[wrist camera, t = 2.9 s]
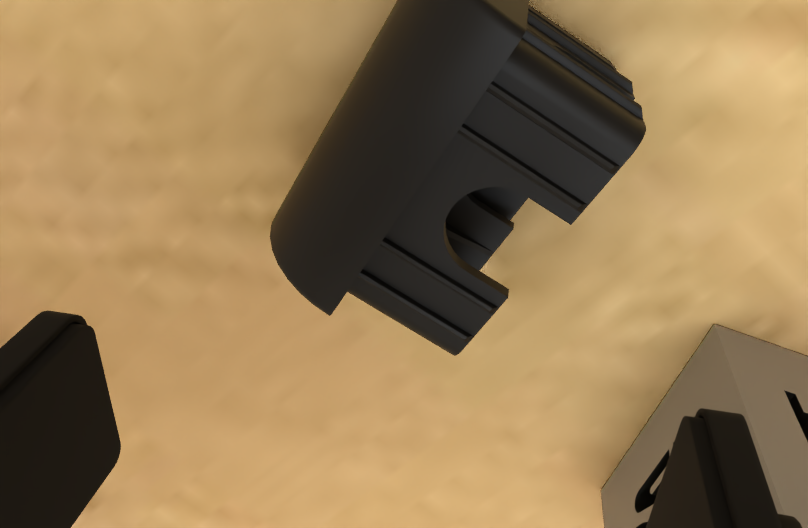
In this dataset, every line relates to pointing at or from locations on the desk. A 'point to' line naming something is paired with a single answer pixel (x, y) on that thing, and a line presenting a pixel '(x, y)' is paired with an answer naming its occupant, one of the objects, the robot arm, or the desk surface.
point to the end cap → (450, 161)
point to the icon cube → (731, 392)
